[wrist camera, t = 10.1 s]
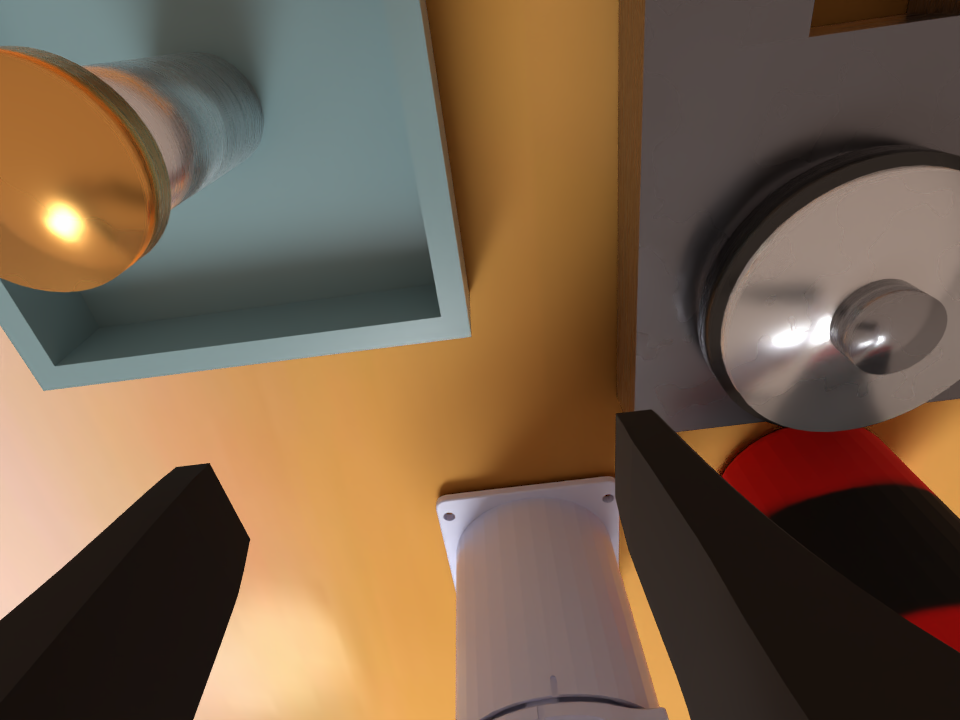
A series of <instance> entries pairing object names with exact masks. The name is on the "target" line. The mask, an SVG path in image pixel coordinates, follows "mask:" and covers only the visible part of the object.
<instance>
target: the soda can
mask: <svg viewBox="0 0 960 720" xmlns="http://www.w3.org/2000/svg"><path fill="white" fill-rule="evenodd" d="M722 478H724V479H725V480H726V481H727V482H728V483H729V484H730V485H731V486H733V487H734V488H735V489H736V490H737V491H738V492H739V493H740V494H741V495H743V496H744V497H745V498H746V499H747V500H748V501H749V502H750V503H752V504H753V505H754V506H755V507H756V508H757V509H759V510H760V511H761V512H762V513H763V514H765V515H766V516H767V517H768V518H769V519H770V520H772V521H773V522H774V523H775V524H777V525H778V526H779V527H780V528H782V529H783V530H784V531H785V532H787V533H788V534H789V535H790V536H791V537H793V538H794V539H795V540H796V541H798V542H799V543H800V544H801V545H803V546H804V547H805V548H807V549H808V550H809V551H810V552H812V553H813V554H814V555H816V556H817V557H818V558H820V559H821V560H822V561H824V562H825V563H826V564H828V565H829V566H830V567H832V568H833V569H834V570H836V571H837V572H839V573H840V574H841V575H843V576H844V577H846V578H847V579H848V580H850V581H851V582H853V583H854V584H855V585H857V586H858V587H860V588H861V589H862V590H864V591H865V592H867V593H868V594H869V595H871V596H872V597H874V598H875V599H877V600H878V601H880V602H881V603H883V604H884V605H886V606H887V607H889V608H890V609H892V610H893V611H895V612H896V613H898V614H899V615H901V616H902V617H904V618H905V619H907V620H908V621H910V622H911V623H913V624H915V625H916V626H918V627H919V628H921V629H923V630H924V631H926V632H928V633H929V634H931V635H932V636H934V637H936V638H937V639H939V640H940V641H942V642H944V643H945V644H947V645H948V646H950V647H952V648H953V649H955V650H957V651H958V652H960V519H959V518H958V517H957V516H956V515H955V514H954V513H953V512H952V511H951V510H950V509H949V508H948V507H947V506H946V505H945V504H944V503H943V502H942V501H941V500H940V499H939V498H938V497H937V496H936V495H935V494H934V493H933V492H932V491H931V490H930V489H929V488H928V487H927V486H926V485H925V484H924V483H923V482H922V481H921V480H920V479H919V478H918V477H917V476H916V475H915V474H914V473H913V472H912V471H911V470H910V469H909V468H908V467H907V466H906V465H905V464H904V463H903V462H902V461H901V460H900V459H899V458H898V457H897V456H896V455H895V454H894V453H893V452H892V451H891V450H890V449H889V448H888V447H887V446H886V445H885V444H884V443H883V442H882V441H881V440H880V439H879V438H878V437H877V436H875V435H874V434H873V433H871V432H870V431H868V430H867V429H864V428H857V429H851V430H845V431H833V432H813V431H804V430H798V429H793V428H789V427H786V428H782V429H779V430H777V431H775V432H772V433H770V434H768V435H766V436H764V437H762V438H760V439H759V440H757V441H755V442H754V443H752V444H751V445H749V446H748V447H747V448H745V449H744V450H743V451H742V452H741V453H740V454H738V455H737V456H736V457H735V458H734V460H733V461H732V462H731V463H730V464H729V465H728V467H727V468H726V470H725V472H724V473H723V475H722Z"/></svg>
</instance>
